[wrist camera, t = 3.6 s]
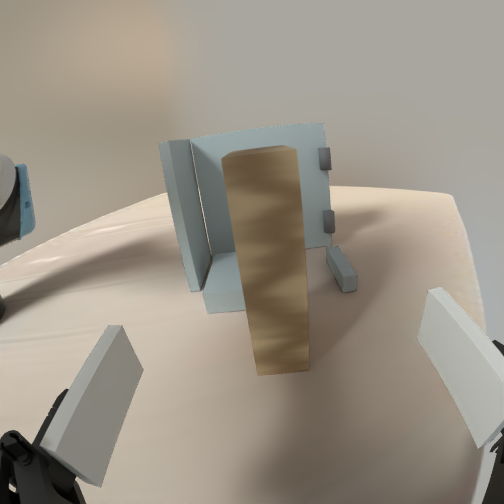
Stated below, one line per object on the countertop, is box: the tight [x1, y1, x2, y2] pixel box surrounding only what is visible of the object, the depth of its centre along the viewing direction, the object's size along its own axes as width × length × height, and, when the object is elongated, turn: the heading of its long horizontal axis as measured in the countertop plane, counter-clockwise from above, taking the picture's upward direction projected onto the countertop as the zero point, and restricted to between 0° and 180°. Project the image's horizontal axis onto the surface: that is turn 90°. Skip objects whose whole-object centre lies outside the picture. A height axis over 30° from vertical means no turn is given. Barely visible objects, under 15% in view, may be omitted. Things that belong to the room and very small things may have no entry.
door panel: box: [221, 145, 309, 376], centre depth 20 cm, size 4×7×16 cm, turn 0°
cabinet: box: [159, 123, 357, 313], centre depth 33 cm, size 20×16×18 cm
